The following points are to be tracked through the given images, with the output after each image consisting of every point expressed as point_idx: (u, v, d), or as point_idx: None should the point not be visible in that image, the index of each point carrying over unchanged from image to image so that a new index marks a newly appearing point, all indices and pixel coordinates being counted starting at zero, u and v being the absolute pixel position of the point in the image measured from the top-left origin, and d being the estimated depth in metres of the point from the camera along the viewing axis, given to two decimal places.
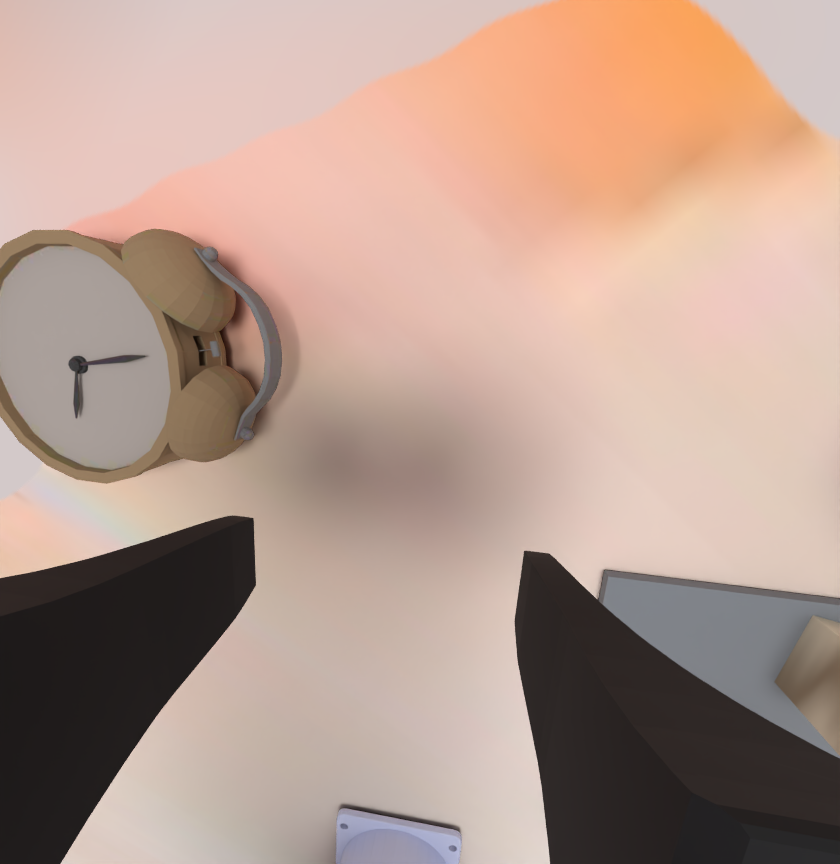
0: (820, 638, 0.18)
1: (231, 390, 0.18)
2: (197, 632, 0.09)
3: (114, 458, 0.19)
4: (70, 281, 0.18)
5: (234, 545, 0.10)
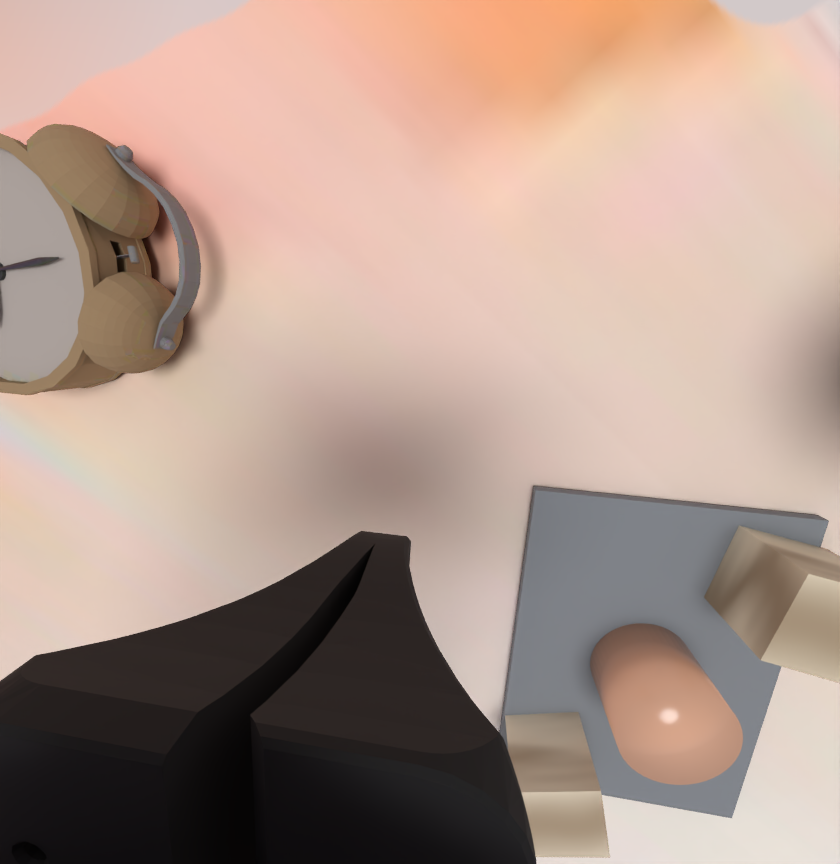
0: (744, 545, 0.18)
1: (147, 295, 0.17)
2: None
3: (35, 370, 0.19)
4: None
5: None
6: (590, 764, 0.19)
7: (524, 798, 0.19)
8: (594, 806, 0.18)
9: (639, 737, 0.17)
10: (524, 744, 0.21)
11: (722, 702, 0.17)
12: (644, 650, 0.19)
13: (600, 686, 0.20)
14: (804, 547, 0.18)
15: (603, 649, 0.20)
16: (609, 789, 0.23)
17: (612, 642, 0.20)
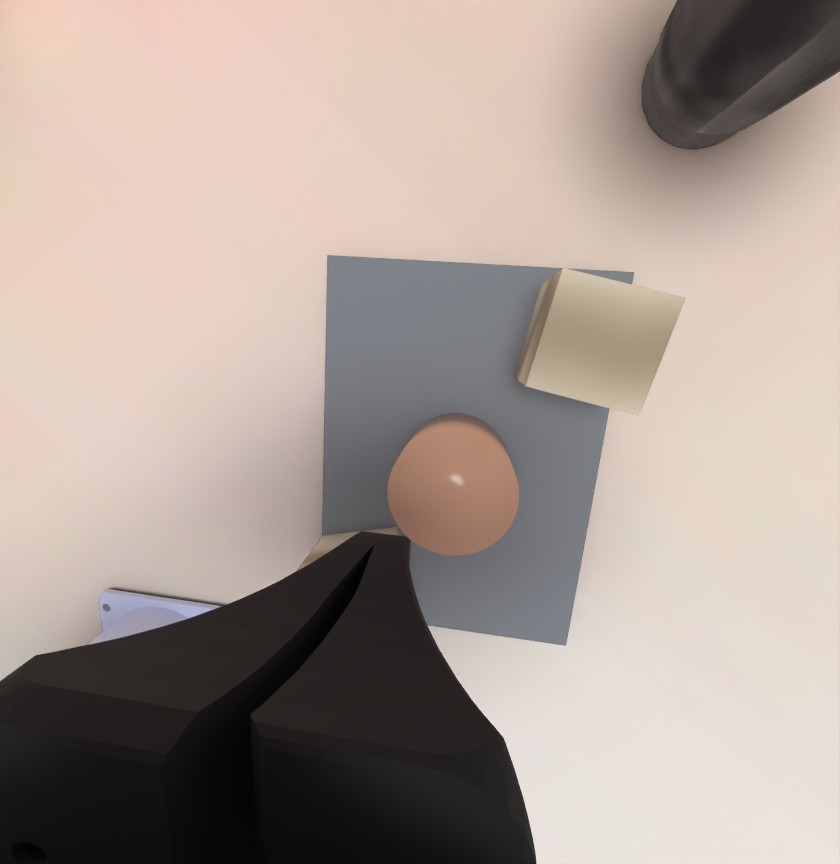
0: (540, 298, 0.16)
1: None
2: None
3: None
4: None
5: None
6: None
7: None
8: None
9: (412, 497, 0.15)
10: (327, 550, 0.19)
11: (493, 446, 0.15)
12: (437, 422, 0.17)
13: None
14: None
15: None
16: (438, 618, 0.21)
17: (417, 430, 0.18)
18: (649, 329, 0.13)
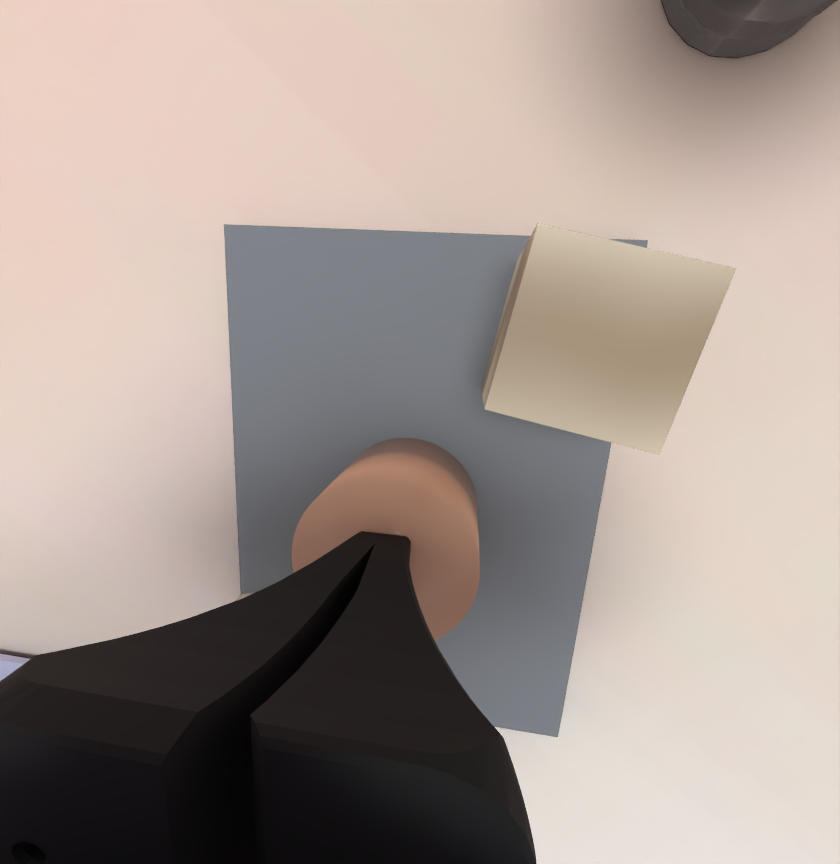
0: (513, 278, 0.11)
1: None
2: None
3: None
4: None
5: None
6: None
7: None
8: None
9: None
10: None
11: (440, 497, 0.10)
12: (372, 455, 0.12)
13: None
14: None
15: None
16: None
17: (351, 462, 0.14)
18: (676, 320, 0.08)
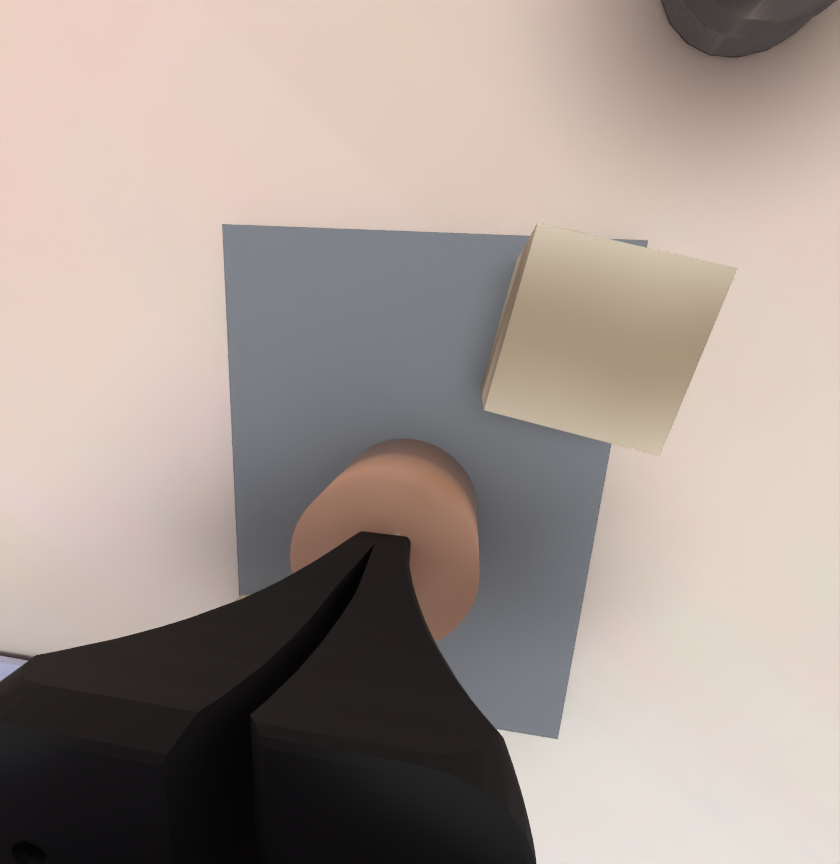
0: (513, 278, 0.11)
1: None
2: None
3: None
4: None
5: None
6: None
7: None
8: None
9: None
10: None
11: (439, 498, 0.10)
12: (371, 456, 0.12)
13: None
14: None
15: None
16: None
17: None
18: (677, 320, 0.08)
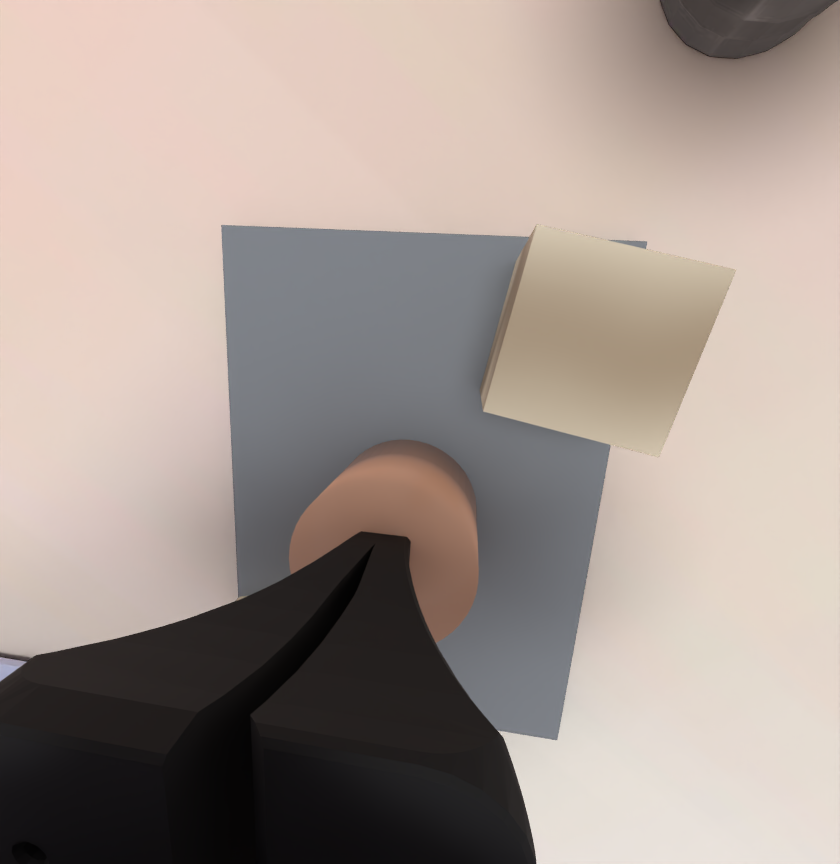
0: (512, 279, 0.11)
1: None
2: None
3: None
4: None
5: None
6: None
7: None
8: None
9: None
10: None
11: (439, 500, 0.10)
12: (371, 457, 0.12)
13: None
14: None
15: None
16: None
17: (350, 464, 0.13)
18: (676, 322, 0.08)
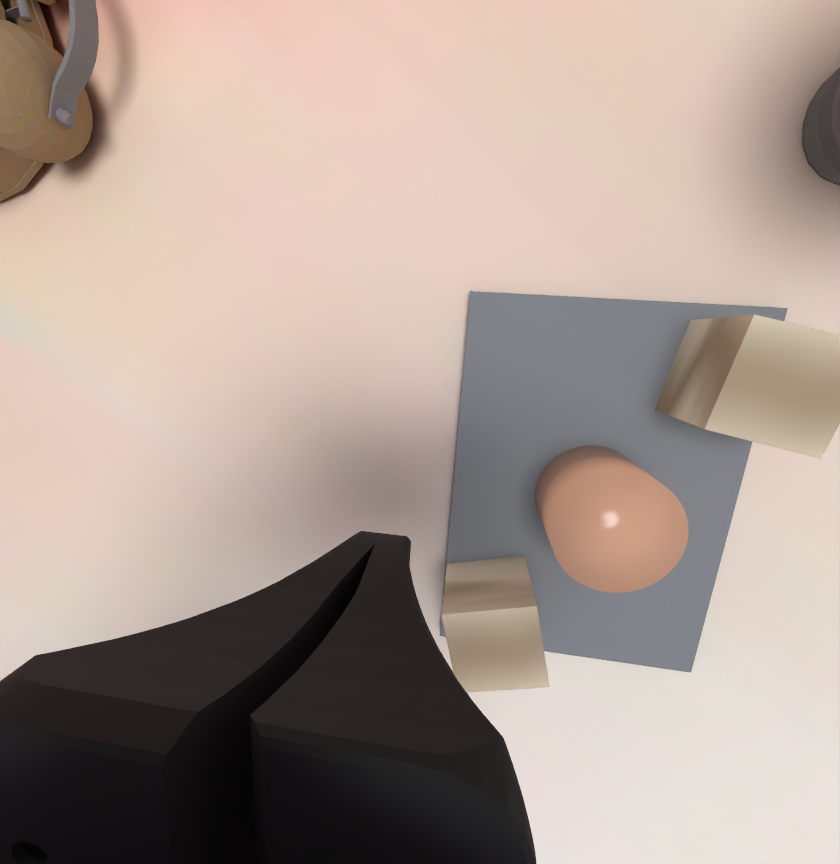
0: (694, 335, 0.16)
1: (36, 48, 0.16)
2: None
3: None
4: None
5: None
6: (529, 589, 0.18)
7: (455, 620, 0.17)
8: (530, 625, 0.17)
9: (576, 536, 0.16)
10: (462, 581, 0.19)
11: (665, 487, 0.15)
12: (587, 458, 0.17)
13: (541, 506, 0.18)
14: None
15: (547, 472, 0.19)
16: (560, 645, 0.21)
17: (556, 463, 0.18)
18: (839, 374, 0.13)
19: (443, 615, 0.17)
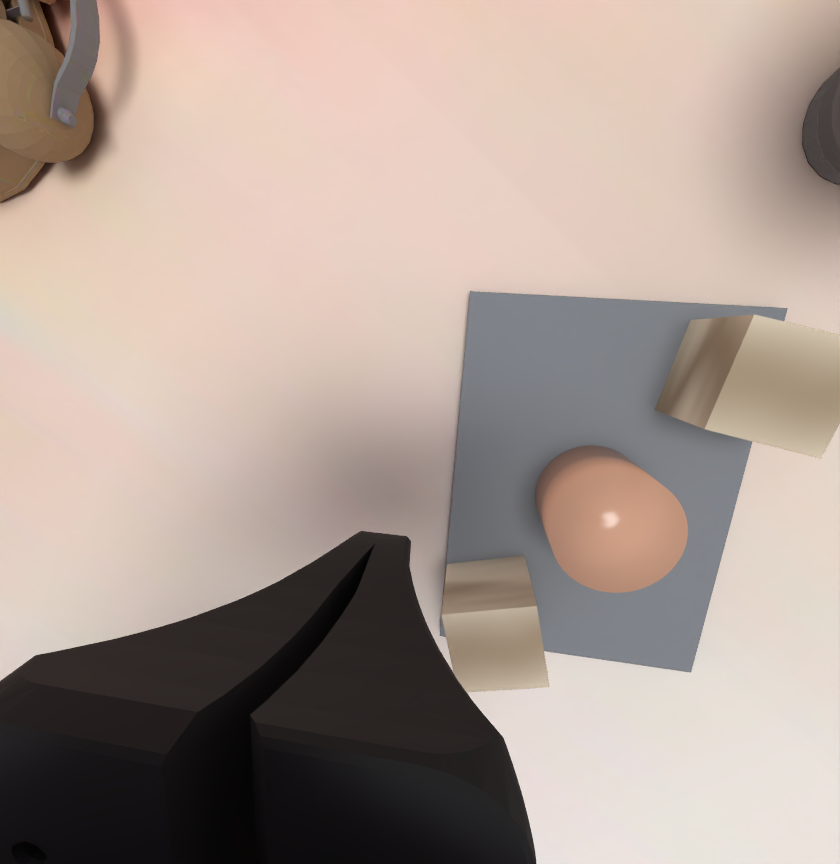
0: (694, 335, 0.16)
1: (38, 47, 0.16)
2: None
3: None
4: None
5: None
6: (529, 589, 0.18)
7: (455, 620, 0.17)
8: (530, 625, 0.17)
9: (575, 536, 0.16)
10: (462, 581, 0.19)
11: (664, 487, 0.15)
12: (587, 458, 0.17)
13: (541, 505, 0.18)
14: None
15: (546, 472, 0.19)
16: (560, 645, 0.21)
17: (556, 463, 0.18)
18: (839, 374, 0.13)
19: (443, 615, 0.17)
